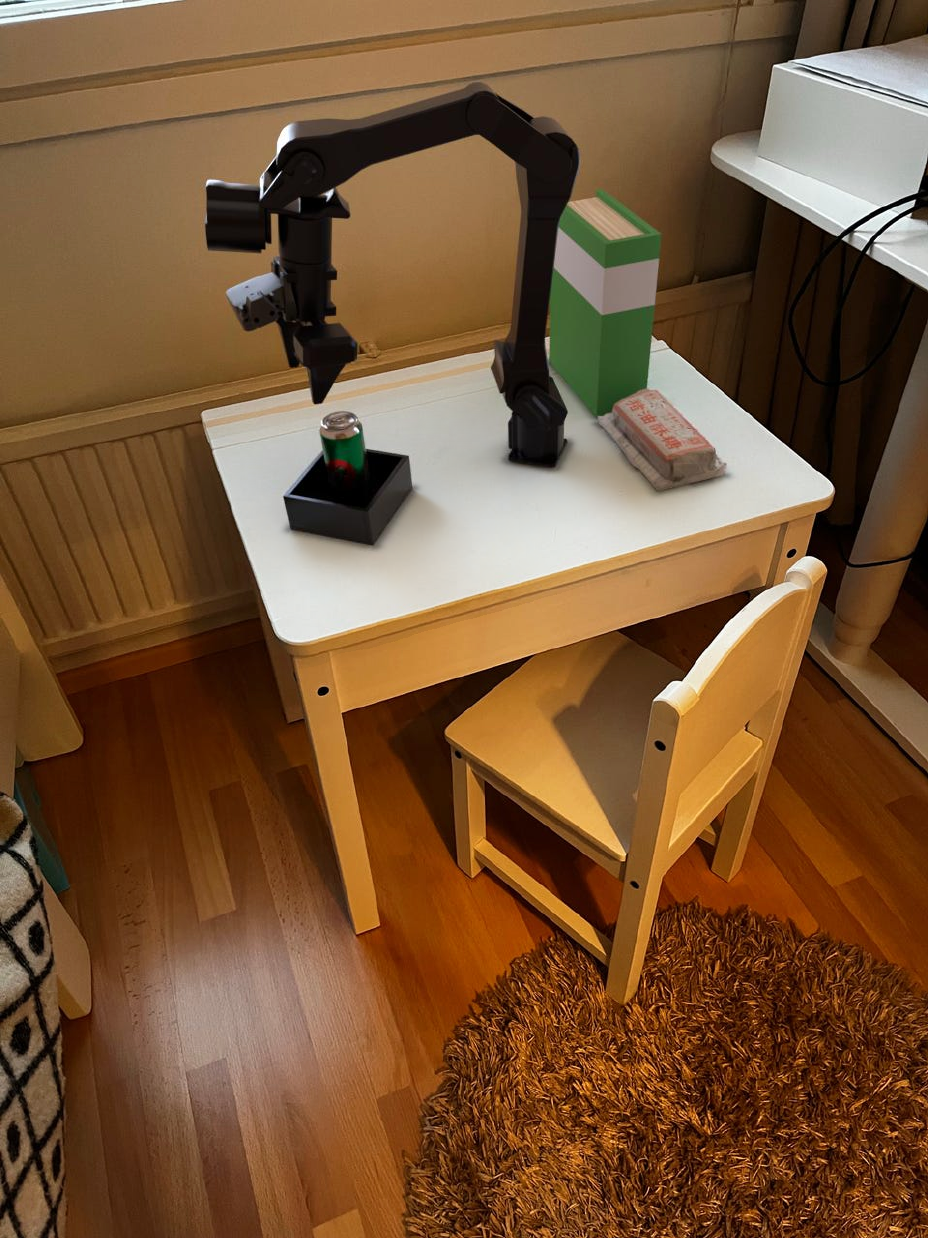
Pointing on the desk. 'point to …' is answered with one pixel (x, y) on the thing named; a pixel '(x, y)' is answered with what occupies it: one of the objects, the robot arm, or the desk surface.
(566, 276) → the hardback book
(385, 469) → the open black square box
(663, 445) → the packaged product
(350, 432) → the soda can
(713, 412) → the desk surface
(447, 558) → the desk surface
